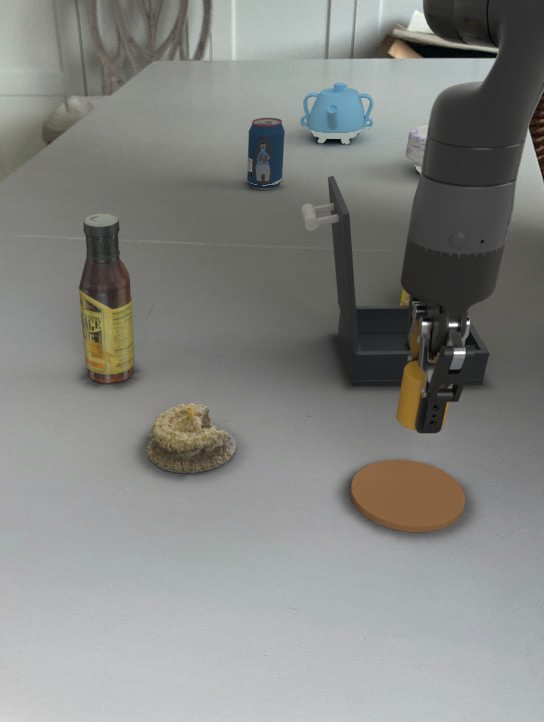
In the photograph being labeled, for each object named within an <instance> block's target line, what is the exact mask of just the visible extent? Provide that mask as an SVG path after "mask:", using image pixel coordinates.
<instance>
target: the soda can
mask: <svg viewBox="0 0 544 722" xmlns="http://www.w3.org/2000/svg"><path fill="white" fill-rule="evenodd" d="M285 133H286V132H285V128H284V125H283V120H282V119H280V118H276V117H260V118H256V119H253V120H251V126H250V128H249V129H248V141H247V142H248V146H247V148H248V149H247V173H246V174H247V176H246V177H247V178H246V180H247V182H248V181H249V182H251V183H253V184H251V183H249V182H248V184H249V186H250V187H251V188H252V189H254V190H261V191H269V190H274V189H277V188H278V187H279V185H280V184H281V182H280V183H278V184H275V185H267V184H272V183H274V182H276V181H278V180H280V179H281V178H282V179H283V170H284V169H283V168H284V151H285V150H284V149H285ZM254 184H257V185H254ZM262 185H267V186H262Z"/></svg>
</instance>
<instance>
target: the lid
mask: <svg viewBox="0 0 544 722" xmlns="http://www.w3.org/2000/svg"><path fill="white" fill-rule="evenodd" d="M327 182H328V183H327V184H328V195H329V203H325V204H320V205H319V204H318V205H316V206H315V205H313V204H312V203H310V202H307V203H305V204H303V205H302V206H301V208H300V214H301V218H302V222H303V225H304V229H305V230H306V231H308V232H311V233H312V232H316V231H317V230H318V229H319V227H320V226H325V225H331V232H332V244H333V256H334V269H335V280H336V281H335V282H336V293H337V304H338V308H339V312H340V311H341V314H342V318H343V321H344V324H345V327H346V330H347V334H348V337H349V340H350V343H351V347H352V350H353V352H354V351H359V344H358V330H357V315H356V306H357V302H356V286H355V273H354V272H355V271H354V261H353V260H354V259H353V258H354V257H353V243H352V242H353V241H352V229H351V214H350V211H349V209H348V206H347V203H346V202H345V199H344V197H343V195H342V192H341V190H340V187H339V185H338V183H337V181H336V178H335V176H334V175H331V176H328V177H327ZM327 212H330V215H326V216H325V215H324V216H321V217H318V214H323V213H327Z"/></svg>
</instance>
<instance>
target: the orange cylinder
mask: <svg viewBox="0 0 544 722" xmlns="http://www.w3.org/2000/svg"><path fill="white" fill-rule="evenodd" d="M429 361H434V360H429ZM422 376H423V371H422V370H421V369H419V367H418V360H417V361H413V362H410V363H408V364H407V365H406V366H405V368H404V373H403V378H402V384H401V386H400V391H399V397H398V402H397V409H396V415H395V417H396V421H397V422H398V423H399V424H400V425H401V426H403V427H404V428H406V429H409V430H412V431H416V432H417V430H416V428H415V422H416V416H417V411H418V406H419V401H420V395H421V393H420V390H421V386H422ZM449 406H450V402H447V405H446V410H445V414H444V419H443V424H442V427H444V426H445V423H446V421H447V416H448V415H447V414H448V411H449Z"/></svg>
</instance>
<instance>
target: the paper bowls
mask: <svg viewBox="0 0 544 722" xmlns="http://www.w3.org/2000/svg"><path fill="white" fill-rule="evenodd" d="M428 125H429V124H422V125H418V126H415V127H413V128H411V129H410V130H409V132H408V138H407V143H406V150H405V157H406V159H407V160H409V161H410V162H412V164H413V165H414V164H415V165H416V166H419V167H421V168H422V162H423V156H424V149H425V143H426V137H427V131H428Z"/></svg>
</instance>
